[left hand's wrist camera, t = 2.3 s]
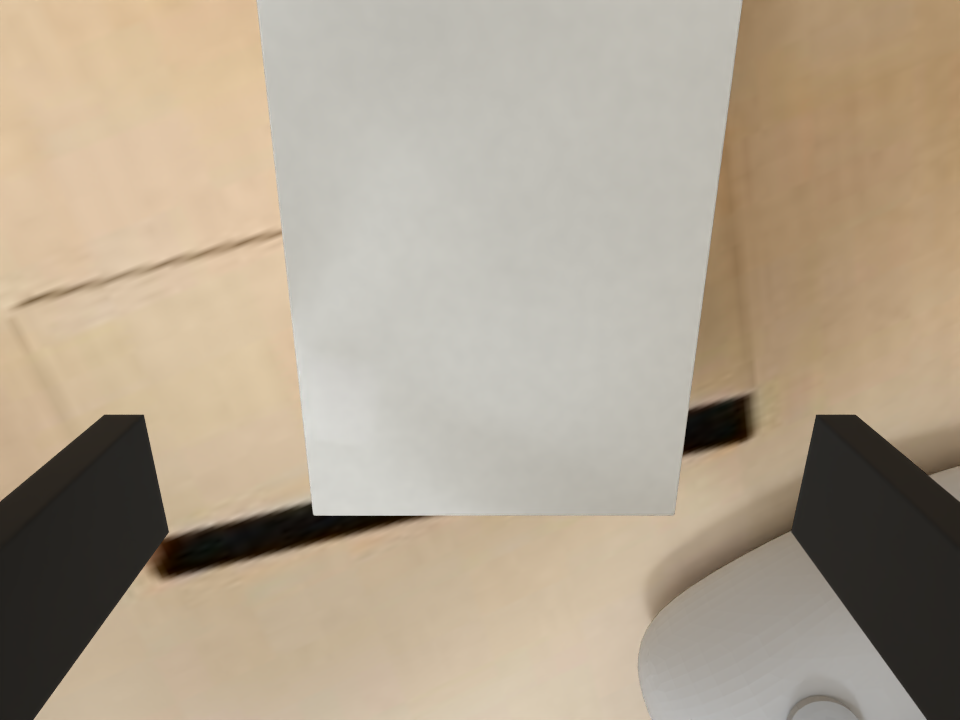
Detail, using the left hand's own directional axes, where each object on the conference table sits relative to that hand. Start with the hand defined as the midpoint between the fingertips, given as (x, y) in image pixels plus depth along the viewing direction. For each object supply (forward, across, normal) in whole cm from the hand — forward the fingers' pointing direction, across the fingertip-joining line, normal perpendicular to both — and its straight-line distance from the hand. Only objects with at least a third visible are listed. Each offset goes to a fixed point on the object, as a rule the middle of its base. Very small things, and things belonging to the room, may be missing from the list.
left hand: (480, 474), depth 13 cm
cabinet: (+17, 0, -3) cm, 17 cm away
